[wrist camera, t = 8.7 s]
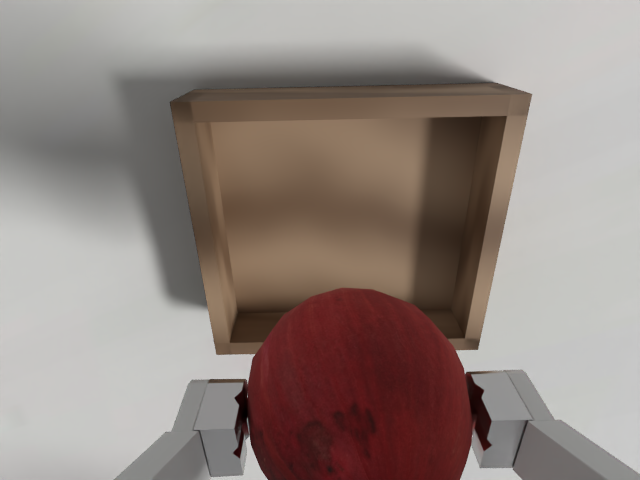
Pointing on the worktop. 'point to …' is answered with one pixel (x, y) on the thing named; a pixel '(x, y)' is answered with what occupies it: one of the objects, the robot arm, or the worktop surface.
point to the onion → (358, 393)
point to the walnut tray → (348, 198)
